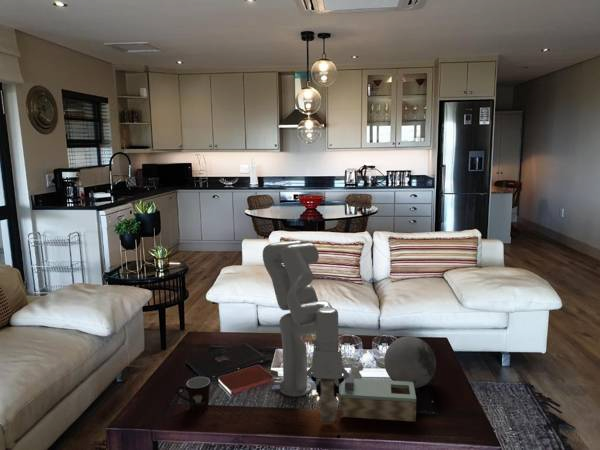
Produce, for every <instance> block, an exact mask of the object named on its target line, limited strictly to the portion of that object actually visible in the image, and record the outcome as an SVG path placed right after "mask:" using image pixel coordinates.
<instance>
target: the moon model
mask: <svg viewBox="0 0 600 450" xmlns="http://www.w3.org/2000/svg"><path fill="white" fill-rule="evenodd" d="M383 360H384V361H383V362H384V368H385V369H384V370H385V371H386V374H387V375H388V377H389V379H390V380H391V381H407V382H413V384H414V389H419V388H422V387H424V386H426V385H427V384H428V383H429V382H430V381H431V380H432V378H433V377H434V375H435V372H436V368H437V360H436V356H435V354H434V351H433V349H432V348H431V347H430V345H429V344H428V343H426V341H424V340H422V339H421V338H419V337H416V336H410V335H409V336H402V337H399V338H396V339H395V340H394V341H392V342H391V343H389V345H388V347H387V348H386V351H385V353H384V359H383Z"/></svg>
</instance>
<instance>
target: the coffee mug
mask: <svg viewBox="0 0 600 450" xmlns="http://www.w3.org/2000/svg"><path fill="white" fill-rule="evenodd" d="M180 389H184V390H186V392H187V396H188V398H187V397H185V396H183V395H181V393H180V392H179V390H180ZM210 390H211V380H210V378H209V377H206V376H195V377H192V378H190V379H188V380H187V382H186V386H184V385H183V386H179V387H178V388H177V389H176V395H177V396H179V397H180V398H181V399H183V400H185V401H187V402H188V403H189V407H190V410H191V409H192V410H194V411H201V410H204V409H206V408H207V407H208V408H209V401H210ZM208 408H207V409H208ZM207 409H206V410H207ZM192 410H191V411H192ZM194 411H193V412H194ZM204 411H205V410H204ZM201 412H202V411H201Z"/></svg>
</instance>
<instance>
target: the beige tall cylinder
mask: <svg viewBox="0 0 600 450" xmlns="http://www.w3.org/2000/svg"><path fill="white" fill-rule="evenodd" d="M334 386H335V380H334V379H320V393H321V395H320V396H319V397H320V421H321V423H323V424H333V423H334V422H335V421H336V397H335V394H334Z"/></svg>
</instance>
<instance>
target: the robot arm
mask: <svg viewBox="0 0 600 450" xmlns="http://www.w3.org/2000/svg"><path fill="white" fill-rule="evenodd" d="M319 257H320V256H319V250H318V248H317V246H316V245H315V244H314V243H312V242H309V241H304V240H302V239H301V240H298V239H297V240H289V241H288V240H287V241H281V242H272V243H269V244H268V245H265V246H264V248H263V250H262V261H263V264H264V267H265V270H266V271H267V273H268V275H269V278H271V282H272V286H273V291H274V293H275V297H276V303H277V306H278V307H279V309H280V310H282V311H289V313H286V314H284V315H282V316H281V317H280V319H279V321H278V322H279V329H280V330H279V331H280V335H281V345H282V375H283V376H281V377H277V376H273V377H272V382H273V383H274V385H275V386H277V385H279V392H280V393H281V394H283V395H285V396H287V397H292V398H293V397H294V398H295V397H302V396H305V395H308V394H309V393H310V392H311V391H312V385H311V383H310V381H308V378H310V379H311V381H312V382H314V384H315V387H316V389H315V390H316V393H317V396H318V397H320V395H321V393H320V379H334V380H335V386H334V394H335V398H337V397H338V394H339V395H340V386H341V384H342V382H343V381H344V380H345V379H347V378H348V377H349V372H348V371H347V370H346V368H345V367H344V364H343V356H342V349H341V347H340V346H339V311H338V309H336V308H334V307H332V305H331V304H330V302H329V301H327V300H319V299H318V296H317V292H316V290H315V288H314V287H313V286H312V285H311V283H312V282H313V280H314V273H313V271H312V269H311V267H310V266H311V265H315V264H316V263H318V261H319ZM314 334H315V337H316V338H315V339H314V340H311V345H314V348H313V352H312V361H311V366H310V367H309V368H308V353H307V352H308V349H307V344H306V343H305V341H303V340H302V338H301V337H305V336H309V335H314Z"/></svg>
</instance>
